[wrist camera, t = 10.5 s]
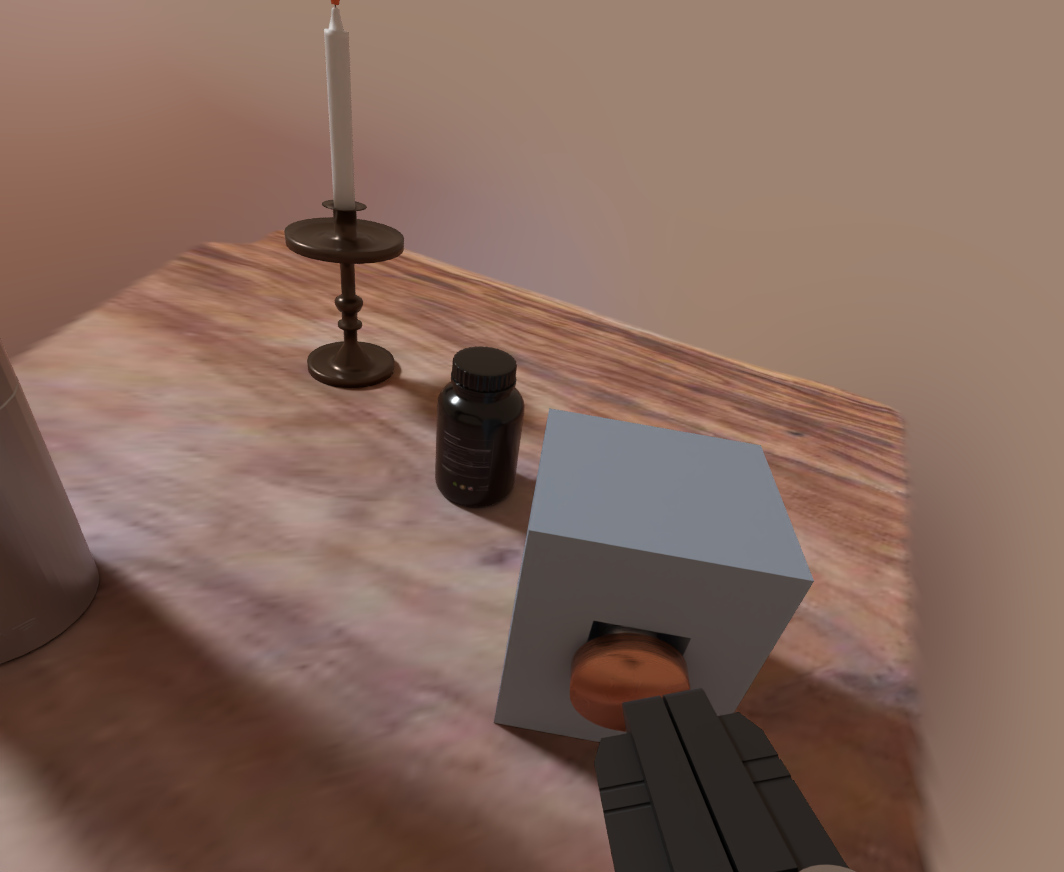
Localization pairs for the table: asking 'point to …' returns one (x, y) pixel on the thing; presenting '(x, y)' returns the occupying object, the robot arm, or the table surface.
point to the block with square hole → (647, 563)
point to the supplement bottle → (479, 428)
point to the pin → (623, 673)
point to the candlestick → (345, 235)
